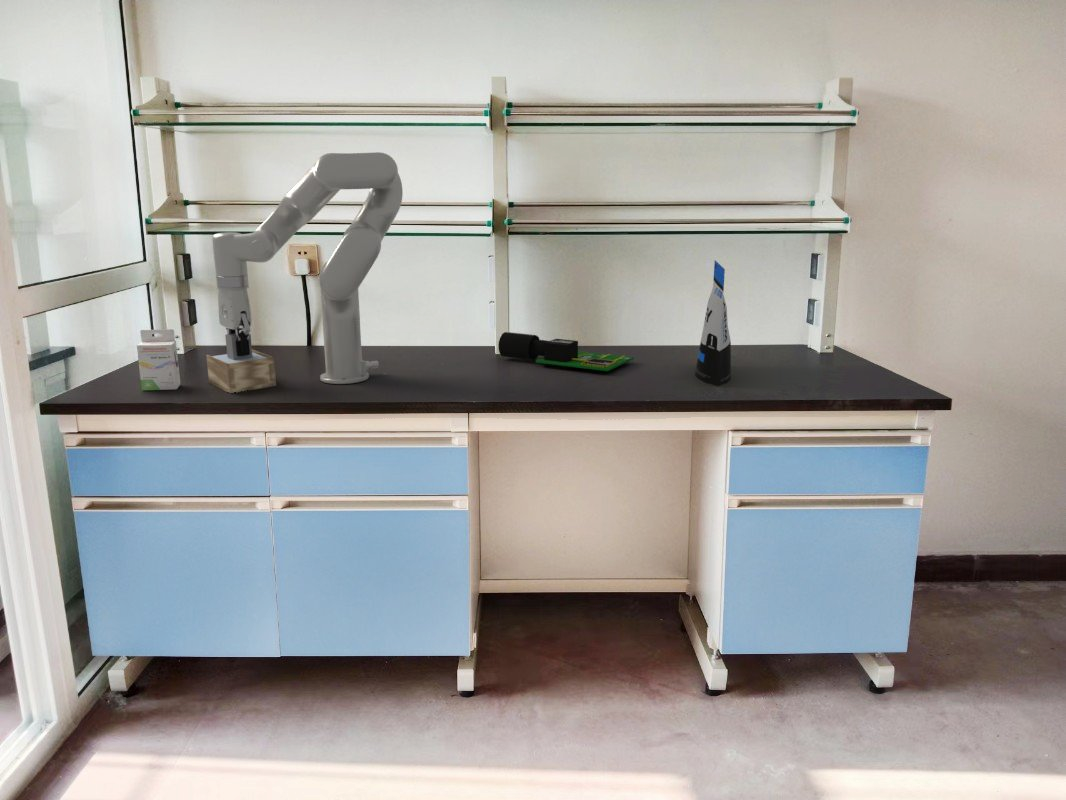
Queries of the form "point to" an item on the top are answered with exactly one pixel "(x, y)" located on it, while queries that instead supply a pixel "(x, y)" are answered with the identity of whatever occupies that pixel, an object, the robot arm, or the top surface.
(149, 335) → the ink box
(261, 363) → the beech box
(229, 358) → the cover plate
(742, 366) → the top surface
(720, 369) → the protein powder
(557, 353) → the electronic board model
